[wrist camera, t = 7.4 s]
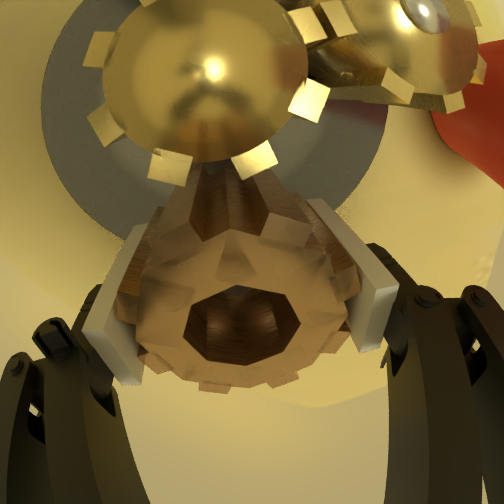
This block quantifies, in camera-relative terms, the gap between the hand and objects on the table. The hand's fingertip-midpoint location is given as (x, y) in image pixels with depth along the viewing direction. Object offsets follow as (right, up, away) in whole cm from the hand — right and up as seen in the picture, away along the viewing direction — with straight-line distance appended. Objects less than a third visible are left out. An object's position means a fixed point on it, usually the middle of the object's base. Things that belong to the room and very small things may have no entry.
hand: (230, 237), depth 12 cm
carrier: (-1, +7, -1) cm, 8 cm away
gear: (0, 0, 0) cm, 0 cm away
